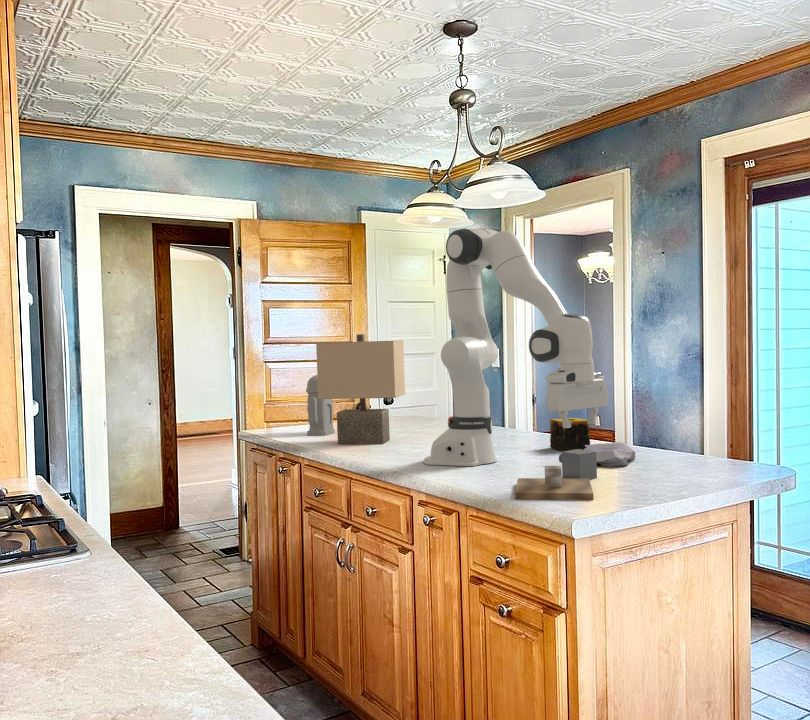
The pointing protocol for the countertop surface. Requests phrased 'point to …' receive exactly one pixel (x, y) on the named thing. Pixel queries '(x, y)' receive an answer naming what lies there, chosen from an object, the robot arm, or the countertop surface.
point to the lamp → (361, 384)
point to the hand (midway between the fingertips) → (579, 426)
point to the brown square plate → (554, 486)
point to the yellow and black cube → (569, 434)
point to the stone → (612, 453)
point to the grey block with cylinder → (578, 464)
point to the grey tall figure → (318, 411)
